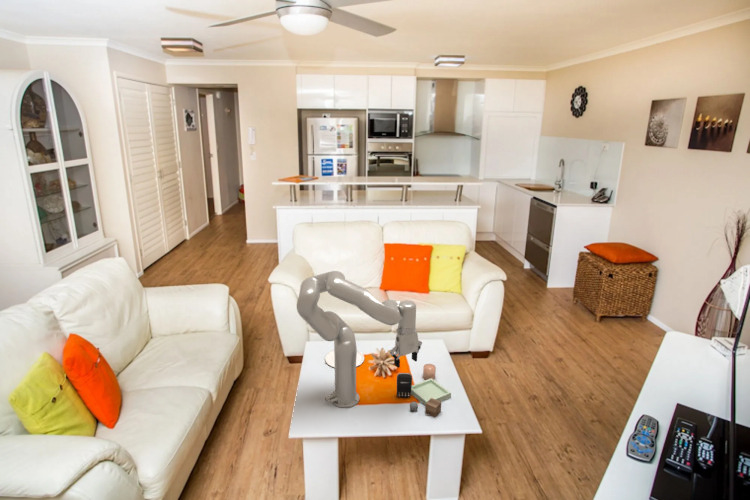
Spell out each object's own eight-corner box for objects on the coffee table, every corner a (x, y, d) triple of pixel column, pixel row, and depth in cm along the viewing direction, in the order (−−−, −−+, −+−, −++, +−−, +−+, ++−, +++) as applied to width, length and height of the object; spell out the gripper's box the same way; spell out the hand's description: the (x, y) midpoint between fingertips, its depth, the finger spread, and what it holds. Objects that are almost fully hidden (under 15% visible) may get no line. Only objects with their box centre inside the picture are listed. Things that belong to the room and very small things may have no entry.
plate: (317, 365, 229) (317, 362, 229) (336, 347, 248) (336, 345, 247) (354, 374, 222) (354, 372, 221) (370, 354, 240) (370, 352, 240)
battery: (396, 398, 202) (396, 376, 199) (396, 393, 206) (396, 372, 203) (411, 399, 202) (412, 377, 199) (411, 394, 206) (412, 372, 202)
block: (435, 417, 190) (435, 407, 188) (425, 413, 193) (425, 403, 191) (440, 411, 194) (441, 402, 192) (430, 407, 196) (431, 397, 195)
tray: (427, 407, 196) (427, 402, 196) (408, 391, 208) (408, 386, 207) (450, 397, 204) (451, 392, 203) (431, 382, 215) (431, 378, 214)
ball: (412, 413, 192) (413, 406, 191) (407, 408, 195) (408, 401, 194) (419, 410, 194) (419, 403, 193) (414, 406, 197) (414, 399, 196)
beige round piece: (428, 382, 215) (428, 371, 214) (420, 376, 220) (421, 365, 218) (437, 378, 218) (438, 368, 217) (429, 373, 223) (430, 362, 222)
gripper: (395, 336, 187) (394, 372, 191) (427, 327, 196) (426, 361, 201) (385, 330, 193) (385, 364, 197) (417, 320, 202) (415, 354, 207)
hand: (405, 363), depth 199 cm, fingers open, 9 cm apart
